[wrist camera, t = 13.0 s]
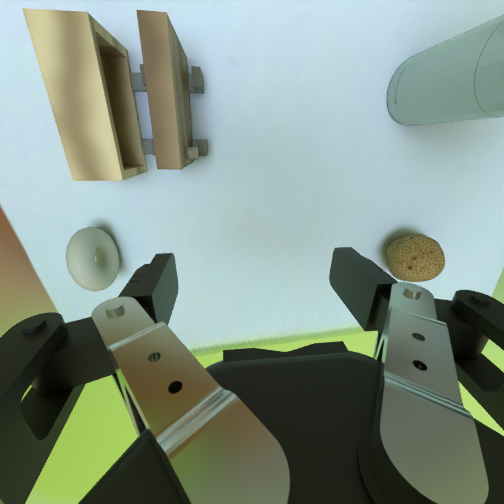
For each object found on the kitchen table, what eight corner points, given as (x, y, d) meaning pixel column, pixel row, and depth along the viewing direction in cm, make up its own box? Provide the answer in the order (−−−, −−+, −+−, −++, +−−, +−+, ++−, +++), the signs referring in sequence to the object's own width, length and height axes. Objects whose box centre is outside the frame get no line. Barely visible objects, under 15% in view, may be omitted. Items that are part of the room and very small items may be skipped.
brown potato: (417, 218, 46) (464, 237, 37) (418, 257, 49) (461, 283, 40) (371, 234, 46) (407, 257, 37) (376, 272, 50) (409, 300, 41)
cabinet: (201, 53, 32) (192, 18, 23) (208, 170, 38) (204, 179, 29) (82, 47, 30) (22, 8, 21) (110, 171, 37) (73, 180, 28)
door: (197, 57, 32) (183, 13, 21) (202, 161, 37) (193, 169, 26) (167, 55, 31) (136, 9, 21) (177, 161, 37) (157, 169, 26)
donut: (88, 220, 39) (47, 243, 30) (109, 217, 40) (75, 239, 31) (109, 272, 44) (79, 306, 35) (128, 269, 44) (103, 303, 35)
